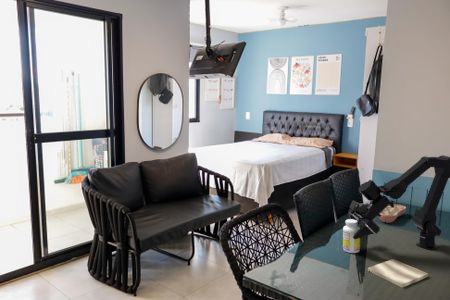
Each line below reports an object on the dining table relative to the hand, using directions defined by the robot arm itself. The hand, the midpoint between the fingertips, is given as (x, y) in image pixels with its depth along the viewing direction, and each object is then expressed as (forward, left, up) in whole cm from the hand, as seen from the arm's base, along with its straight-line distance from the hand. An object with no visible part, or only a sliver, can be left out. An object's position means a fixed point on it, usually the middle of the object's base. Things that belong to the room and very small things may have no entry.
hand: (349, 234), depth 149 cm
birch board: (+1, +23, -7) cm, 25 cm away
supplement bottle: (-1, 0, -7) cm, 7 cm away
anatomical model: (-49, -17, -7) cm, 52 cm away
